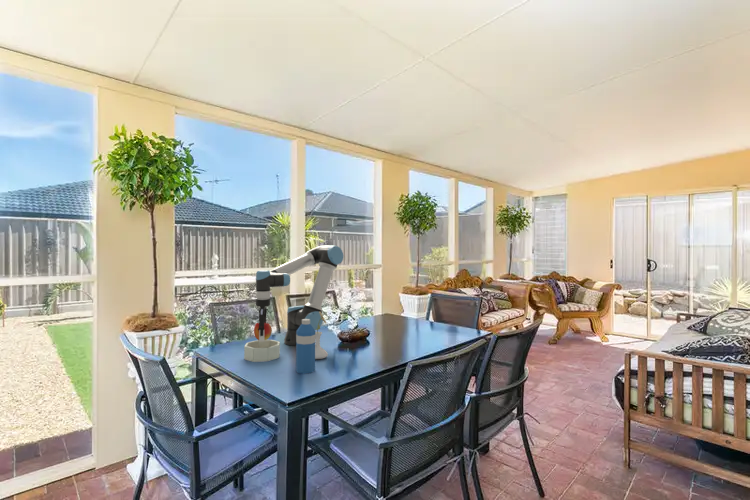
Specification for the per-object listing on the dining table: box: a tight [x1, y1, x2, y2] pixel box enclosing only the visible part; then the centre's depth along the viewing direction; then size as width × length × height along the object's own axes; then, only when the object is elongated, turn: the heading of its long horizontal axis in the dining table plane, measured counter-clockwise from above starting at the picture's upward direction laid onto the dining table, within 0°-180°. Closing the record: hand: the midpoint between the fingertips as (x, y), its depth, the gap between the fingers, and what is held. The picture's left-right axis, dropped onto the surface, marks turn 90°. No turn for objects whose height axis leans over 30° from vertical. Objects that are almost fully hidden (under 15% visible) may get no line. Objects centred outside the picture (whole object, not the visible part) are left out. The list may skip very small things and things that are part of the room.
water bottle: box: [295, 319, 316, 375], centre depth 185 cm, size 9×9×25 cm
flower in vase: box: [315, 311, 329, 360], centre depth 207 cm, size 13×11×25 cm
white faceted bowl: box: [243, 339, 281, 363], centre depth 207 cm, size 18×18×7 cm
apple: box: [253, 322, 273, 341], centre depth 207 cm, size 10×10×10 cm
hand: (262, 339), depth 207 cm, fingers closed on apple, 9 cm apart
